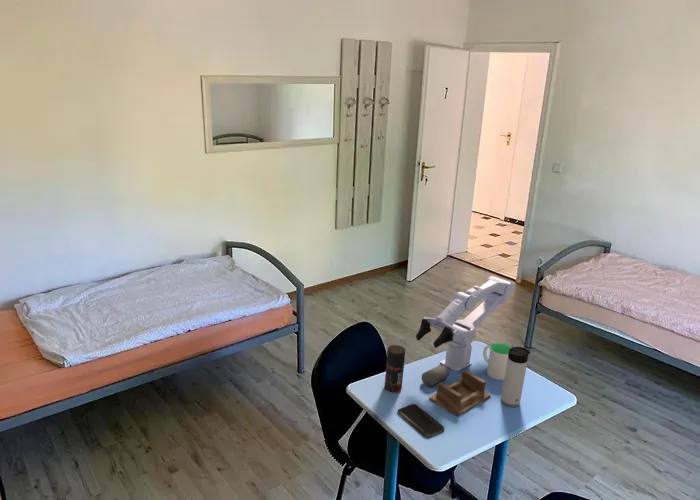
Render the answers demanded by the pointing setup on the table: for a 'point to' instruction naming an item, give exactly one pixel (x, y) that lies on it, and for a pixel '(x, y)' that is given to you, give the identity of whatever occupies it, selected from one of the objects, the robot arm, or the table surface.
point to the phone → (420, 420)
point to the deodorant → (394, 368)
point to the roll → (435, 375)
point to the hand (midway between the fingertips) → (425, 341)
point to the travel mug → (514, 376)
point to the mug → (497, 360)
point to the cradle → (461, 394)
